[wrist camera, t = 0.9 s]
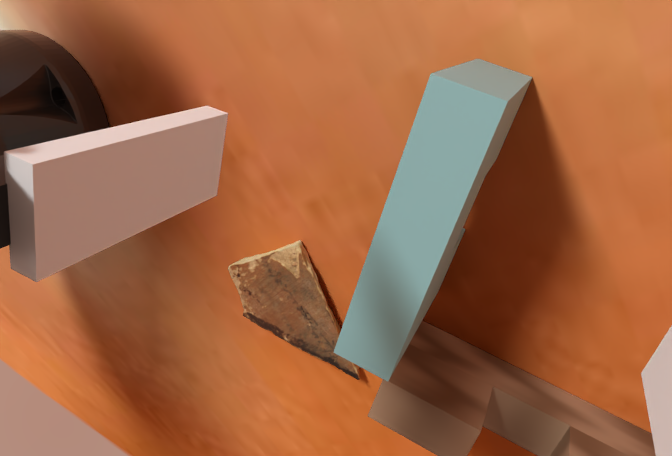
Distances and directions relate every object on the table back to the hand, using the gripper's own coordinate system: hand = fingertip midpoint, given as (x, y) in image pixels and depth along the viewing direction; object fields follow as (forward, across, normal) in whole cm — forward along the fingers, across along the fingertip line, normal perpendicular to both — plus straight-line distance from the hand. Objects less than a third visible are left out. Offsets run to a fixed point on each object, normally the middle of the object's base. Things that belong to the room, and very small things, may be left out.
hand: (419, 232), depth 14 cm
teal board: (+17, -1, -4) cm, 17 cm away
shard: (+18, -9, -16) cm, 25 cm away
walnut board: (+17, +7, -15) cm, 24 cm away
